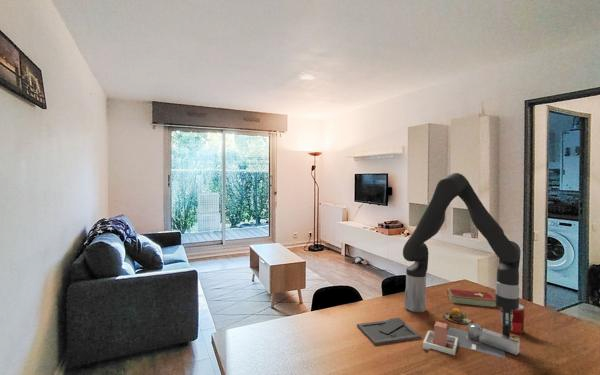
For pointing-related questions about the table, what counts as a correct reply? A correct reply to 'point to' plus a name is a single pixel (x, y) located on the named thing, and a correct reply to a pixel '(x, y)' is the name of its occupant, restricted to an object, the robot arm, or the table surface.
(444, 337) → the block
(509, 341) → the crank
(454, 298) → the hardcover book
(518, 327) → the canned food
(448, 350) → the tray
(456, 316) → the burger
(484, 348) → the crank plate
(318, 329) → the table surface
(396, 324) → the picture frame
